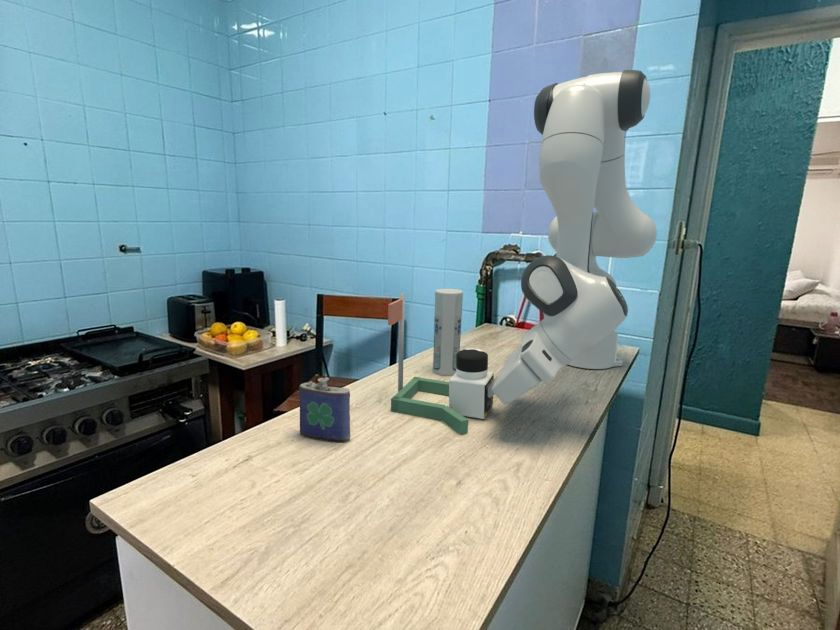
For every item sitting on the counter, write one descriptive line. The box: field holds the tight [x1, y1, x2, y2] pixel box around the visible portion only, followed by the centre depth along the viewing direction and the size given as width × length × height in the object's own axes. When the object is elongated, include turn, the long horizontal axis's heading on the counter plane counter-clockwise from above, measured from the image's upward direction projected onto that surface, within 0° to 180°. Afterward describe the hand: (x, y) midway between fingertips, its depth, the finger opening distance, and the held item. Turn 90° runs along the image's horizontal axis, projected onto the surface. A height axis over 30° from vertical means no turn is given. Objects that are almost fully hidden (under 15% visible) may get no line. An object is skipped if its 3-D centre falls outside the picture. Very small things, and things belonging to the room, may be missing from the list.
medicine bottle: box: [448, 348, 495, 420], centre depth 86 cm, size 7×7×12 cm
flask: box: [298, 376, 351, 443], centre depth 74 cm, size 9×3×11 cm, turn 74°
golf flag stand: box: [387, 292, 469, 435], centre depth 87 cm, size 21×17×22 cm
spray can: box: [432, 288, 464, 377], centre depth 106 cm, size 6×6×20 cm
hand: (487, 392), depth 85 cm, fingers closed, pressing on medicine bottle
